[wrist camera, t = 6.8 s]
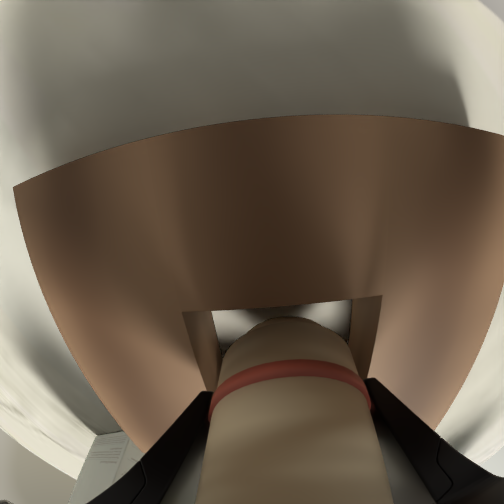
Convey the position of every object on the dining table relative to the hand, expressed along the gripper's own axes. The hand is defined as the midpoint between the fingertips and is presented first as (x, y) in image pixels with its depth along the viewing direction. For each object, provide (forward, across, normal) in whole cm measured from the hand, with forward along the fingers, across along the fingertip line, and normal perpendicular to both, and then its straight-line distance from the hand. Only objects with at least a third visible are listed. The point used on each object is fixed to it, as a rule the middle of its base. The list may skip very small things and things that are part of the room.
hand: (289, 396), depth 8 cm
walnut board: (+4, 0, 0) cm, 4 cm away
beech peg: (+2, 0, 0) cm, 2 cm away
